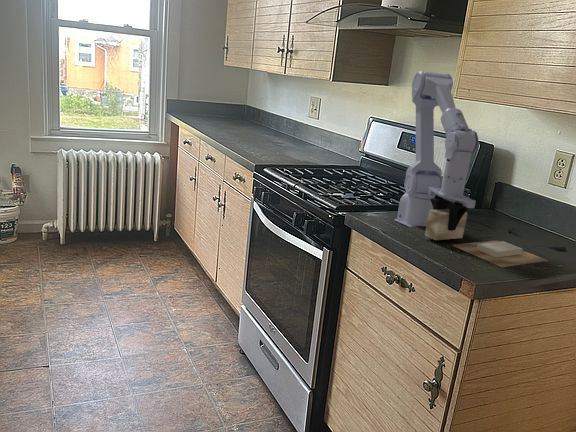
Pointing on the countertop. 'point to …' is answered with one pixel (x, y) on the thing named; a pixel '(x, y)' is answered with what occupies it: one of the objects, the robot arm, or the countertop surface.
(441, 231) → the tan mottled block
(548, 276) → the countertop surface
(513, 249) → the tile
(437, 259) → the countertop surface
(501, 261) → the cork mat
